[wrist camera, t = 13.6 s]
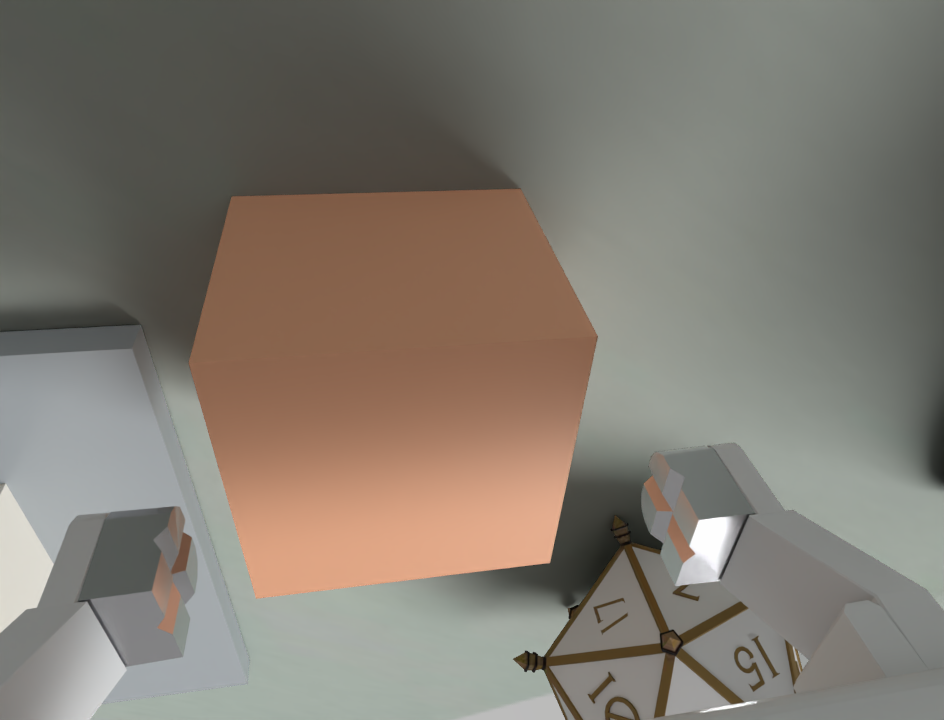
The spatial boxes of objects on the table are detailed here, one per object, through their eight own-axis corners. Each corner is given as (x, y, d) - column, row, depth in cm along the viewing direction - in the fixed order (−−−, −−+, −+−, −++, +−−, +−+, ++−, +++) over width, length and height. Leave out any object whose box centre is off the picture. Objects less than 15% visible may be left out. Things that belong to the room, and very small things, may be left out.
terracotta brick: (232, 194, 12) (188, 363, 8) (519, 186, 13) (597, 336, 9) (273, 409, 16) (256, 598, 12) (498, 392, 17) (549, 563, 13)
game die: (624, 500, 26) (725, 763, 24) (440, 572, 22) (544, 899, 20) (817, 447, 19) (989, 820, 17) (597, 540, 15) (789, 1058, 12)
